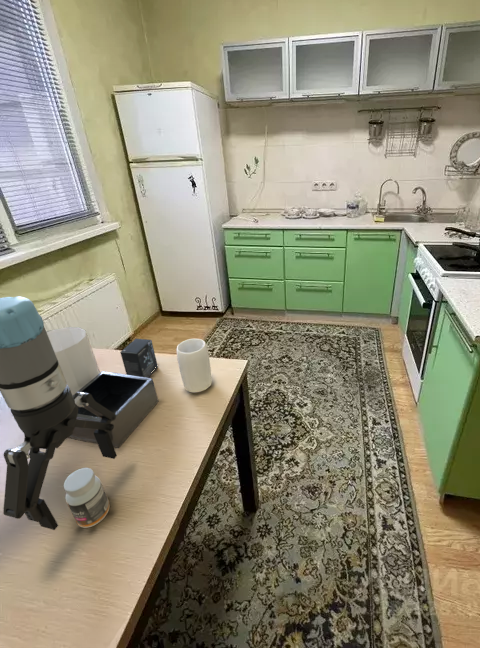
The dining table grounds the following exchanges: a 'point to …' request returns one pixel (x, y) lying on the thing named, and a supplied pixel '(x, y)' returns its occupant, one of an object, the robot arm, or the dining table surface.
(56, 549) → the dining table surface
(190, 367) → the cup
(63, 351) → the container
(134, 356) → the box
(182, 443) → the dining table surface
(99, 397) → the bin
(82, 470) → the pill bottle
